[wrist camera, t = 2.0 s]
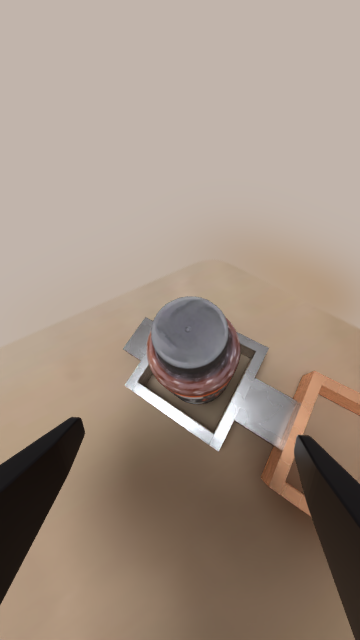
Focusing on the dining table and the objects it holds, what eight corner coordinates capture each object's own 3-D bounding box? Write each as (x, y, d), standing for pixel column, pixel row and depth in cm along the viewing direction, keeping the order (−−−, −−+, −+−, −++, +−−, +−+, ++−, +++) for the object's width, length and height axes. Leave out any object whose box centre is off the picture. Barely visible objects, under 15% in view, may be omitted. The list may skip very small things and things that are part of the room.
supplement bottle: (211, 418, 19) (213, 420, 9) (156, 384, 21) (106, 353, 11) (239, 360, 21) (268, 306, 11) (186, 333, 23) (168, 265, 13)
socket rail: (468, 461, 16) (511, 468, 14) (447, 607, 13) (496, 647, 11) (161, 303, 25) (156, 292, 22) (111, 373, 22) (100, 368, 20)
